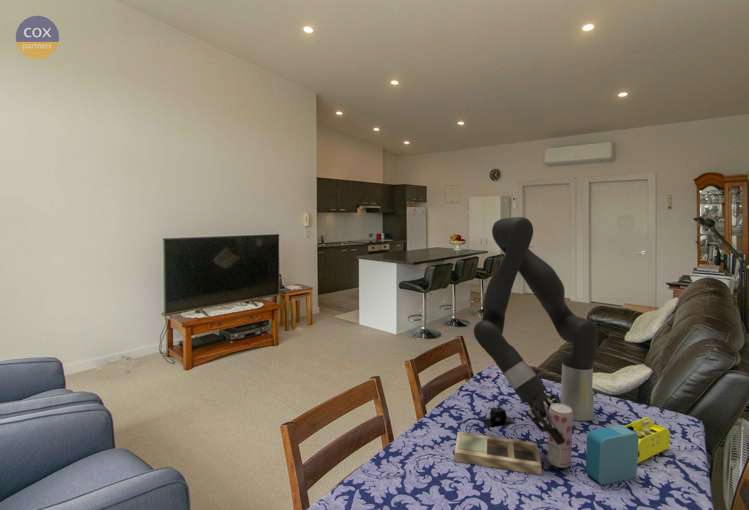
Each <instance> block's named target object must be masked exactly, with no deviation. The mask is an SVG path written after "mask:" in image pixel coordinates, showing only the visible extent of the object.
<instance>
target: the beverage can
mask: <svg viewBox="0 0 749 510" xmlns="http://www.w3.org/2000/svg"><path fill="white" fill-rule="evenodd" d="M549 412H550V415H551V417H552V419H551V420H552V422H553V424H554V426H555V428H556V429H557V430H558V431H559V432H560V434H561V435H562V436H563V438H564V439H565V442H564V443H562V444H561V445H558V444H557V443H556V442H555V440H554V439H553V438H552V436H551V435H550V434H549V432H547V433H548V434H547V454H546V455H547V456H546V458H547V461H548V462H549V464H551V466H555V467H557V468H562V469H566V468H568V467H570V466H571V464H572V448H573V447H572V444H573V443H572V442H573V441H572V440H573V434H572V429H573V420H572V419H573V413H572V409H571V408H570V407H569V406H567V405H564V404H559V403H555V404H551V405H550V408H549Z"/></svg>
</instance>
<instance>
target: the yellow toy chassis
mask: <svg viewBox="0 0 749 510" xmlns="http://www.w3.org/2000/svg"><path fill="white" fill-rule="evenodd" d="M623 426H624V427H626V428H628V429H629V430H631V431H633V432H635V433H636V434H637V435H638V437H639V442H638V461H637V464H639V463H641V462H644V461H646V460H647V459H649V458H652V459H653V458H654V456H655V455H657V456H659V454H660V453H662V452H664V451H665V450H668V449H670V440H671V439H670V438H671V431H670V429H668V428H667V427H662V426H660V425H658V424H653V419H652V418H651V417H650V416H646V417H643V418H641V419H639V420H635V421H634V422H632V423H629V424H626V425H623Z"/></svg>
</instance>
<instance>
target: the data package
mask: <svg viewBox="0 0 749 510" xmlns="http://www.w3.org/2000/svg"><path fill="white" fill-rule="evenodd" d="M624 426H625V425H623V424H617V425H612V426H608V427H601V428H595V429H590V430H589V432H588V433H587V435H586V450H585V451H586V453H585V455H586V456H585V473H586V474H587V475H588V476H589V477H591V478H592V479H594V481H596V482H598V483H599V484H600V485H602V486H606V485H609V484H613V483H617V482H621V481H625V480H631V479H634V478H635V477H636V475H637V473H638V463H637V461H638V442H639V437H638V435H637V434H636V433H635V432H633V431H631V430H629V429H628V428H627V427H624Z"/></svg>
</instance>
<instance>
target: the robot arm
mask: <svg viewBox="0 0 749 510" xmlns="http://www.w3.org/2000/svg"><path fill="white" fill-rule="evenodd" d="M491 233H492V234H491V235H492V238H493V240H494V242H495V244H496V245H497V246H498V248H499V249H500V250H501V251H502V252H503V253H504V256H503V259H502V261H501V262H500V265H499V266H498V267H497V269H496V270H495V272H494V273H493V275H492V276H491V278H490V279H489V281H488V284H487V286H486V290H485V295H484V298H483V302H482V309H483V313H482V314H483V315H482V317H481V320H480V321H478V322H477V323H476V324H475V326H474V328H473V335H474V338H475V340H476V341H477V343H478V344H479V345H480V346H481V348H482V349H483V350H484V351H485V352H486V353H487V354H488V355H489V356H490V357H491V358H492V360H493V361H494V363H495V364H496V366H497V367H498V369H499V370H500V371H501V373H502V374H503V376H504V377H505V379H506V381H507V382H508V384H509V385H510V386H511V388H512V389H513V392H515V393H516V395H517V397H518V398H519V399H520V400H521V402H522V403H523V404H526V403H527V404H528V405H529V408H530V409H529V410H528V411H526V412H525V413H526V416H527V417H528V418H529V419H530V420H531V421H532V423H533V424H534V425H535V426H536V427H537V428H538V430H539V431H540V432H541V433H544V432H546V433H548V432H549V434H550V435H551V436H552V438H553V439H554V440H555V442H556V443H557V444H558V445H561V444H562V443H564V442H565V439H564V438H563V436H562V435H561V434H560V432H559V431H558V430H557V429H556V428H555V426H554V424H553V422H552V420H551V419H552V417H551V415H550V412H549V408H550V405H551V404H555V403H559V404H564V405H567V406H569V407H570V408H571V409H572V413H573V419H572V421H578V422H587V421H594V420H593V419H594V400H595V393H594V390H593V381H594V380H593V376H594V363H595V361H596V358H597V353H598V345H599V344H598V343H599V329H598V327H597V324H596V323H595V322H594V321H592V320H590V319H587V318H583V317H580V316H577V315H575V314H574V313H573V312H572V310H570V308H569V306H568V305H567V303H566V301H565V295H566V294H565V292H566V291H565V286H564V283H563V282H562V280H561V278H560V277H559V275H558V274H557V273H556V270H554V269H553V267H552V266H551V265H549V264H548V262H546V261H545V260H544V259H542V258H541V257H539V256H538V255H536V254H535V253H534V252H533V251H532V250H531V249H530V248H529V247H530V244H531V243H532V239H533V236H534V226H533V224H532V222H531V220H529V219H528V218H526V217H523V216H515V217H514V216H513V217H505V218H500V219H498V220H496V221H495V222H494V224H493V225H492V228H491ZM518 273H519V274H520V276H521V277H522V278H523V280H524V282H526V284H527V287H528V288H529V289H530V290H531V292H532V293H533V295H534V296H535V298H536V299H537V300H538V302H539V303H540V304H541V306H542V308H543V309H544V311H545V312H546V313H547V315H548V316H549V318H550V320H551V322H552V324H553V326H554V328H555V330H556V332H557V334H558V336H559V337H560V338H561V339H562V340H563V341H565V342H567V343H569V344H572V345H573V346H572V352H565V353H564V354H563V355H562V357H561V359H562V361H561V384H560V386H561V389H560V400H559V399H558V397H557V396H556V394H555V393H552V394H549V395H548V394H547V392H545V391H546V390H547V387H546V385H544V383H543V382H542V380H541V379H540V378H539V377H538V375H537V374H536V372H534V370H533V369H532V367H531V366H530V365H529V364H528V363H527V362H526V360H524V358H523V357H522V355H520V353H519V352H518V350H516V349H515V348H514V346H513V345H511V344H510V343H509V342H508V341H507V339H506V338H505V337H504V336H503V333H504V329H505V328H504V327H505V320H506V313H507V308H508V306H509V301H510V297H511V293H512V290H513V286H514V284H515V280H516V278H517V275H518ZM574 433H575V430H574V428H572V435H573V434H574Z"/></svg>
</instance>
